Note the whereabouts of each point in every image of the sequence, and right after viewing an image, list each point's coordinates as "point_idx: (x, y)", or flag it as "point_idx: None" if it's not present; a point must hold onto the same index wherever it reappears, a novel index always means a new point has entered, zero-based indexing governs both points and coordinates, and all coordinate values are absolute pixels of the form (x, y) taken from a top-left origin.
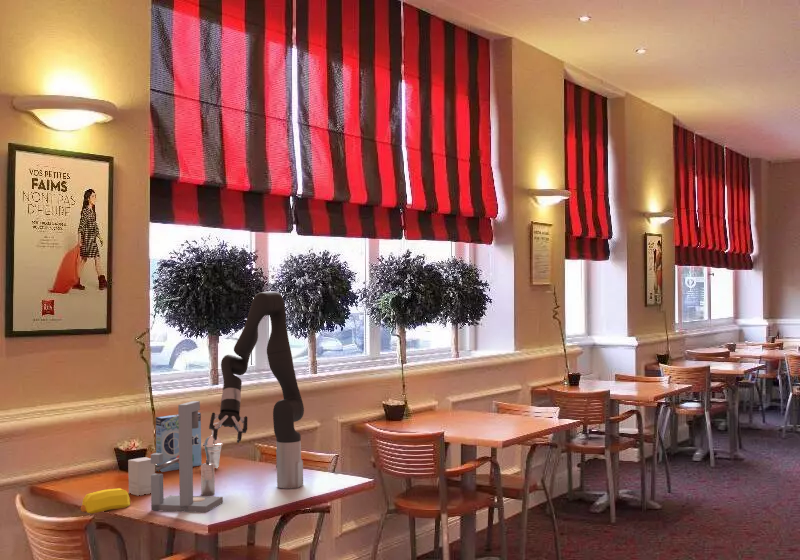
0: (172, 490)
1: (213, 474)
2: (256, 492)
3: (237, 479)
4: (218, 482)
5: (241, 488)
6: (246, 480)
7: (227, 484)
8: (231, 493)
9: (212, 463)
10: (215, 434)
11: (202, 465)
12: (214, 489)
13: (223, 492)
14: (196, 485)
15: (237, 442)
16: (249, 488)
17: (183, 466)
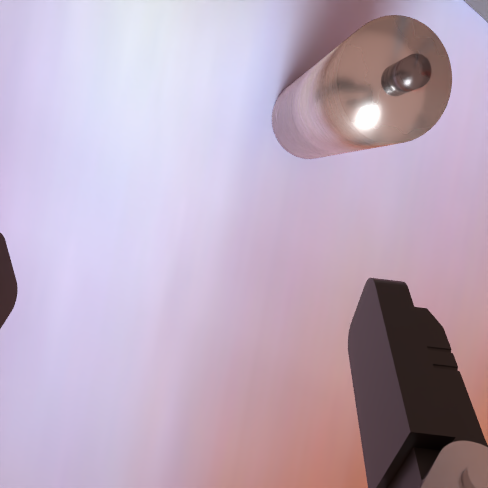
0: (458, 313)
1: (320, 61)
2: (16, 6)
3: (68, 461)
4: (194, 419)
5: (91, 182)
6: (16, 409)
7: (153, 340)
8: (178, 65)
9: (348, 94)
10: (419, 331)
11: (444, 50)
12: (281, 98)
13: (218, 121)
14: (323, 387)
15: (9, 280)
16: (40, 156)
17: None
